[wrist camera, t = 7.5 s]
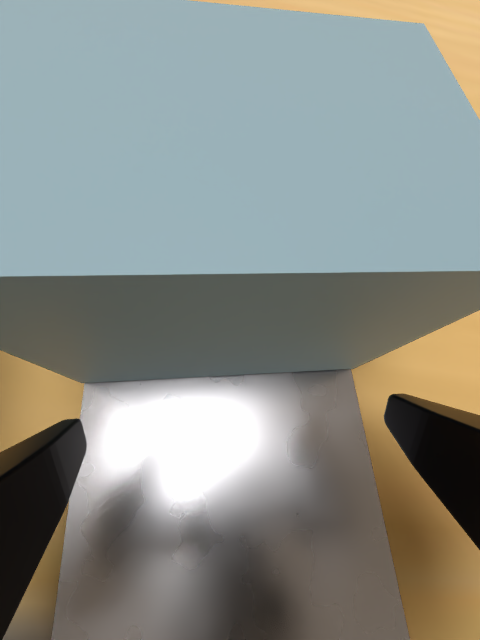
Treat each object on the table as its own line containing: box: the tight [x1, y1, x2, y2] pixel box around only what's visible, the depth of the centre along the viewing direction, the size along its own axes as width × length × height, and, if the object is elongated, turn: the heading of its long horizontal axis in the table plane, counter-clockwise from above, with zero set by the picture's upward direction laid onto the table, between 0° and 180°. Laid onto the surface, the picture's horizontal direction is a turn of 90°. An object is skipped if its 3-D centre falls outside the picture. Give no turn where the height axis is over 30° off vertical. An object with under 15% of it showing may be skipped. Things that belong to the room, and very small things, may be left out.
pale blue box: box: [0, 0, 480, 383], centre depth 12 cm, size 10×14×10 cm
